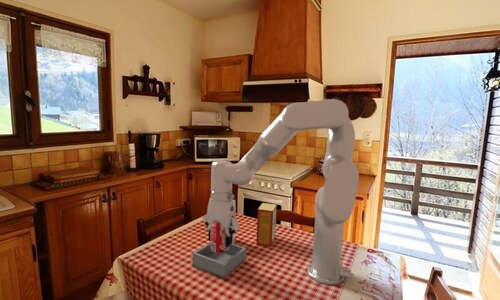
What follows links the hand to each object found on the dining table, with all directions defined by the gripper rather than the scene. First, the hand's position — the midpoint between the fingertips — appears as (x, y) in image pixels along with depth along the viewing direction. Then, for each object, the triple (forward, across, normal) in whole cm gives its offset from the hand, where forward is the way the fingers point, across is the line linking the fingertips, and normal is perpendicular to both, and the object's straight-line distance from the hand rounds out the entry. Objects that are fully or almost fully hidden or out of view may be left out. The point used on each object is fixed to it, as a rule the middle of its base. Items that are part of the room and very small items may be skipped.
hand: (220, 242), depth 95 cm
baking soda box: (+8, -6, -26) cm, 28 cm away
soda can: (+3, 0, 0) cm, 3 cm away
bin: (+8, 0, 0) cm, 8 cm away
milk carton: (+8, +8, -15) cm, 19 cm away
